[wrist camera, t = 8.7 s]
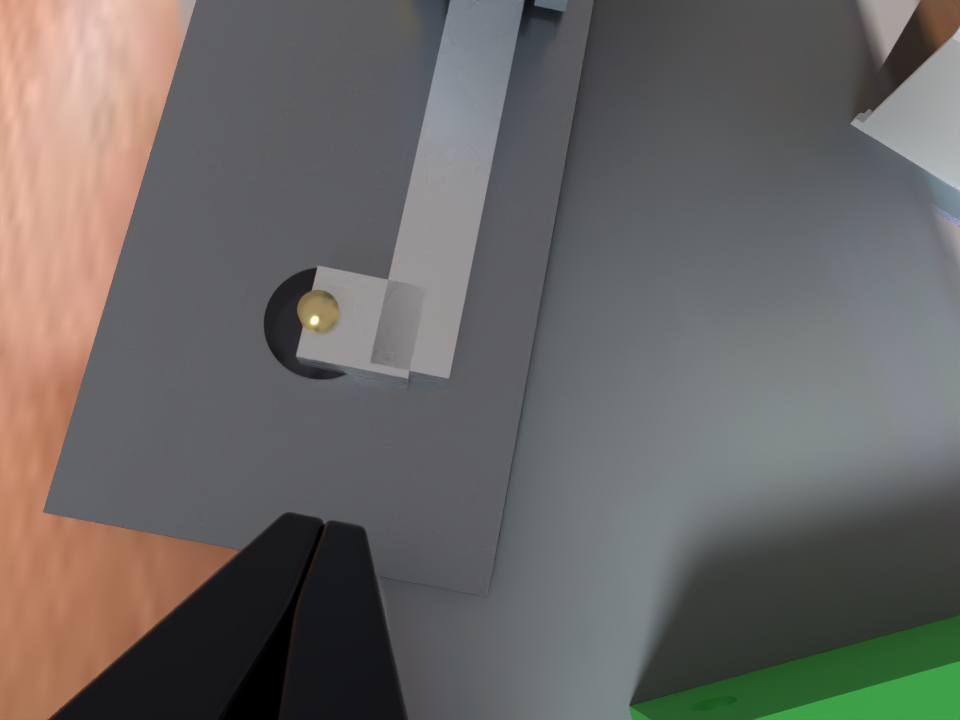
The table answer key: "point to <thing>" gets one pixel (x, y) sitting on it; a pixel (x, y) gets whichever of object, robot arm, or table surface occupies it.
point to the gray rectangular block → (552, 4)
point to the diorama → (923, 109)
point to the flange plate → (333, 279)
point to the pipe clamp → (836, 684)
